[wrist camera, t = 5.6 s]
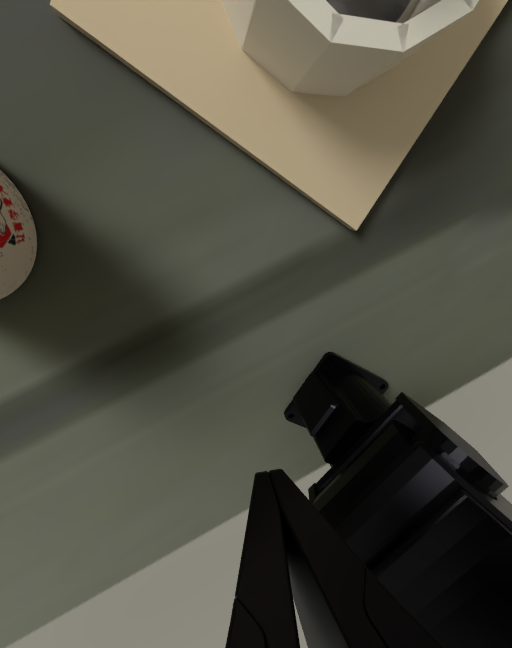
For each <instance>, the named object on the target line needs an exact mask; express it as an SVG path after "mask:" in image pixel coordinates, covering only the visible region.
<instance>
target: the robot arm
mask: <svg viewBox="0 0 512 648" xmlns="http://www.w3.org/2000/svg"><path fill="white" fill-rule="evenodd" d="M331 357H332V359H331V360H330V361H328V359H329V358H331ZM380 385H382V386H380ZM387 388H388V383H387V382H386V381H385V380H384V379H382V378H380V377H378V376H376V375H375V374H373V373H371V372H369V371H367V370H365V369H363V368H361V367H359V366H358V365H356V364H354V363H352V362H350V361H348V360H346V359H344V358H342V357H340V356H339V355H337V354H335V353H333V352H328V353H326V354H325V355H324V356H323V357H322V359H321V360H320V362H319V363H318V364H317V366H316V367H315V369H314V370H313V372H312V373H311V374H310V375H309V376H308V377H307V379H306V380H305V382H304V383H303V385H302V386H301V387H300V389H299V390H298V392H297V393H296V394H295V396H294V397H293V400H292V401H291V403H290V404H289V406H288V407H287V408H286V410H285V412H284V416H285V418H286V420H288V421H290V422H293V423H295V424H298V425H300V426H303V427H305V428H307V429H308V431H309V433H310V435H311V436H312V437H313V438H314V440H315V442H316V444H317V446H318V448H319V450H320V452H321V454H322V456H323V458H324V460H325V462H326V463H329V464H330V466H331V469H330V470H329V471H328V472H327V473H326V474H325V475H324V476H323V477H322V478H321V479H320V480H319V481H318V482H317V483H314V484H313V485H312V486H311V487H310V488H309V489H308V491H309V500H308V499H307V497H306V496H305V495H304V494H303V493H302V492H301V491H300V489H299V488H298V487H297V486H296V485H295V484H294V482H293V481H292V480H291V479H290V478H289V477H288V476H287V474H286V473H285V472H284V471H283V470H282V469H276V470H270V471H269V473H268V472H267V471H264V472H258V473H256V474H255V477H254V483H253V489H252V496H251V502H250V508H249V514H248V520H247V526H246V532H245V538H244V544H243V550H242V556H241V562H240V569H239V574H238V581H237V586H236V592H235V599H234V603H233V609H232V615H231V622H230V626H229V631H228V637H227V643H226V647H225V648H300V644H299V637H298V630H297V623H296V616H295V609H294V602H295V605H296V609H297V612H298V615H299V619H300V622H301V625H302V629H303V632H304V636H305V639H306V642H307V646H308V648H512V504H511V503H510V502H509V501H507V500H506V499H505V498H504V497H503V496H502V495H501V493H502V492H503V491H504V490H505V489H506V488H507V487H508V485H507V483H506V482H505V481H504V480H503V479H502V478H501V477H500V476H499V475H498V474H497V472H495V470H494V469H493V468H492V467H491V466H490V465H489V464H488V463H487V461H486V460H485V459H484V458H483V457H482V456H481V455H480V454H479V453H478V452H477V451H476V450H475V449H474V448H473V447H472V446H471V445H470V444H468V443H467V442H466V441H465V440H464V439H462V438H461V437H460V436H459V435H458V434H457V433H455V432H454V431H453V430H452V429H451V428H450V427H448V426H447V425H446V424H445V423H444V422H442V421H441V420H439V419H438V418H437V417H435V416H434V415H433V414H431V413H430V412H429V411H427V410H426V409H425V408H423V407H422V406H420V405H419V404H418V403H416V402H415V401H414V400H412V399H411V398H410V397H408V396H407V395H405V394H404V393H403V392H401V393H400V394H399V395H398V396H397V397H396V399H397V400H396V401H395V402H394V403H393V404H392V405H391V404H390V403H389V402H388V401H387V400H386V399H385V398H384V397H383V396H382V394H383V393H384V392H385V391H386V389H387ZM291 413H293V414H292V415H289V414H291ZM293 599H294V602H293Z"/></svg>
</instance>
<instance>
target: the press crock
mask: <svg viewBox="0 0 512 648" xmlns="http://www.w3.org/2000/svg"><path fill="white" fill-rule="evenodd" d="M507 1H508V0H411V1H410V3H409V5H408V6H407V8H406V9H405V11H404V12H403V14H402V15H401V17H400V18H399V19H398V20H397V22H396V23H395V22H389V21H382V20H376V19H369V18H363V17H356V16H349V15H343V14H338V12H337V11H336V10H335V9H334V8H333V7H332V6H331V5H330V4H329V3H328V2H327V1H326V0H51V2H50V5H51V7H52V8H53V10H54V11H55V12H56V14H57V15H58V16H59V17H61V18H62V19H63V20H65V21H66V22H67V23H69V24H70V25H71V26H73V27H74V28H76V29H77V30H78V31H80V32H81V33H82V34H84V35H85V36H87V37H88V38H89V39H91V40H92V41H93V42H95V43H96V44H97V45H99V46H100V47H102V48H103V49H104V50H106V51H107V52H108V53H110V54H111V55H112V56H114V57H115V58H117V59H118V60H119V61H121V62H122V63H123V64H125V65H126V66H127V67H129V68H130V69H132V70H133V71H134V72H136V73H137V74H138V75H140V76H141V77H143V78H144V79H145V80H147V81H148V82H149V83H151V84H152V85H153V86H155V87H156V88H158V89H159V90H160V91H162V92H163V93H164V94H166V95H167V96H168V97H170V98H171V99H173V100H174V101H175V102H177V103H178V104H179V105H181V106H182V107H183V108H185V109H186V110H188V111H189V112H190V113H192V114H193V115H194V116H196V117H197V118H199V119H200V120H201V121H203V122H204V123H205V124H207V125H208V126H209V127H211V128H212V129H214V130H215V131H216V132H218V133H219V134H220V135H222V136H223V137H224V138H226V139H227V140H229V141H230V142H231V143H233V144H234V145H235V146H237V147H238V148H240V149H241V150H242V151H244V152H245V153H246V154H248V155H249V156H250V157H252V158H253V159H255V160H256V161H257V162H259V163H260V164H261V165H263V166H264V167H265V168H267V169H268V170H270V171H271V172H272V173H274V174H275V175H276V176H278V177H279V178H280V179H282V180H283V181H285V182H286V183H287V184H289V185H290V186H291V187H293V188H294V189H296V190H297V191H298V192H300V193H301V194H302V195H304V196H305V197H306V198H308V199H309V200H311V201H312V202H313V203H315V204H316V205H317V206H319V207H320V208H321V209H323V210H324V211H326V212H327V213H328V214H330V215H331V216H332V217H334V218H335V219H336V220H338V221H339V222H341V223H342V224H343V225H345V226H346V227H347V228H349V229H350V230H355V231H357V229H358V228H359V226H360V225H361V223H362V222H363V220H364V219H365V217H366V216H367V214H368V213H369V211H370V210H371V208H372V207H373V205H374V203H375V202H376V200H377V199H378V197H379V196H380V194H381V193H382V191H383V190H384V188H385V187H386V185H387V184H388V182H389V181H390V179H391V178H392V176H393V175H394V173H395V172H396V170H397V169H398V167H399V165H400V164H401V162H402V161H403V159H404V158H405V156H406V155H407V153H408V152H409V150H410V149H411V147H412V146H413V144H414V143H415V141H416V140H417V138H418V137H419V135H420V134H421V132H422V131H423V129H424V127H425V126H426V124H427V123H428V121H429V120H430V118H431V117H432V115H433V114H434V112H435V111H436V109H437V108H438V106H439V105H440V103H441V102H442V100H443V99H444V97H445V96H446V94H447V93H448V91H449V89H450V88H451V86H452V85H453V83H454V82H455V80H456V79H457V77H458V76H459V74H460V73H461V71H462V70H463V68H464V67H465V65H466V64H467V62H468V61H469V59H470V58H471V56H472V55H473V53H474V51H475V50H476V48H477V47H478V45H479V44H480V42H481V41H482V39H483V38H484V36H485V35H486V33H487V32H488V30H489V29H490V27H491V26H492V24H493V23H494V21H495V20H496V18H497V17H498V15H499V13H500V12H501V10H502V9H503V7H504V6H505V4H506V3H507Z"/></svg>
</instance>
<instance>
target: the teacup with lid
mask: <svg viewBox="0 0 512 648" xmlns="http://www.w3.org/2000/svg"><path fill="white" fill-rule="evenodd" d="M36 252H37V235H36V229H35V225H34V221H33V218H32V215H31V213H30V210H29V208H28V206H27V204H26V202H25V200H24V199H23V197H22V195H21V194H20V192H19V191H18V189H17V188H16V186H15V185H14V184H13V183H12V182H11V180H10V179H9V178H8V177H7V176H6V175H5V174H4V173H3V172H2V171H1V169H0V299H2V298H4V297H6V296H8V295H9V294H11V293H12V292H14V291H15V290H16V289H17V288H19V287H20V286H21V285H22V284H23V282H24V281H25V280H26V279H27V277H28V275H29V274H30V272H31V270H32V268H33V265H34V262H35V258H36Z"/></svg>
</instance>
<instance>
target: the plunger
mask: <svg viewBox="0 0 512 648" xmlns="http://www.w3.org/2000/svg"><path fill="white" fill-rule="evenodd" d="M326 1H327V2H328V3H329V4H330V5H331V6H332V7H333V8H334V9H335V10H336V11H337V12H338V14H343V15H349V16H356V17H363V18H369V19H376V20H382V21H389V22H395V23H396V22H397V20H398V19H399V18H400V17H401V15H402V14H403V12H404V11H405V9H406V8H407V6H408V5H409V3H410V1H411V0H326Z"/></svg>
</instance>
